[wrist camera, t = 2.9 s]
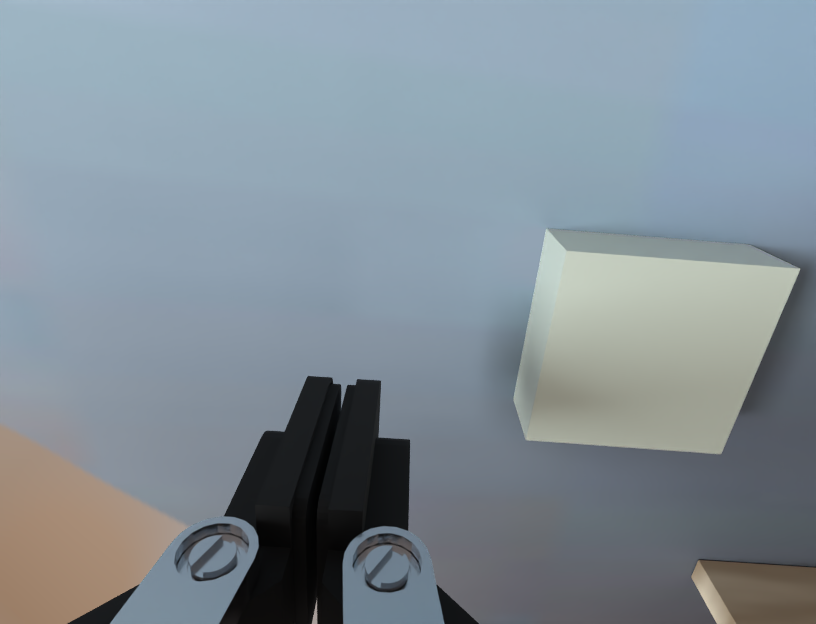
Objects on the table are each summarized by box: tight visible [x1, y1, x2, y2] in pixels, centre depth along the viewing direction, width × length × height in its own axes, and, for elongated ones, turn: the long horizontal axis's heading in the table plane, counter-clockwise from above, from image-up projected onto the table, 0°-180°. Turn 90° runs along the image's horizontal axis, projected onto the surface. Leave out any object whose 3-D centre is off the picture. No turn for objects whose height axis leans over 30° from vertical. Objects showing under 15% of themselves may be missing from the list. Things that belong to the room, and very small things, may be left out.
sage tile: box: [513, 229, 800, 454], centre depth 15 cm, size 6×6×2 cm
